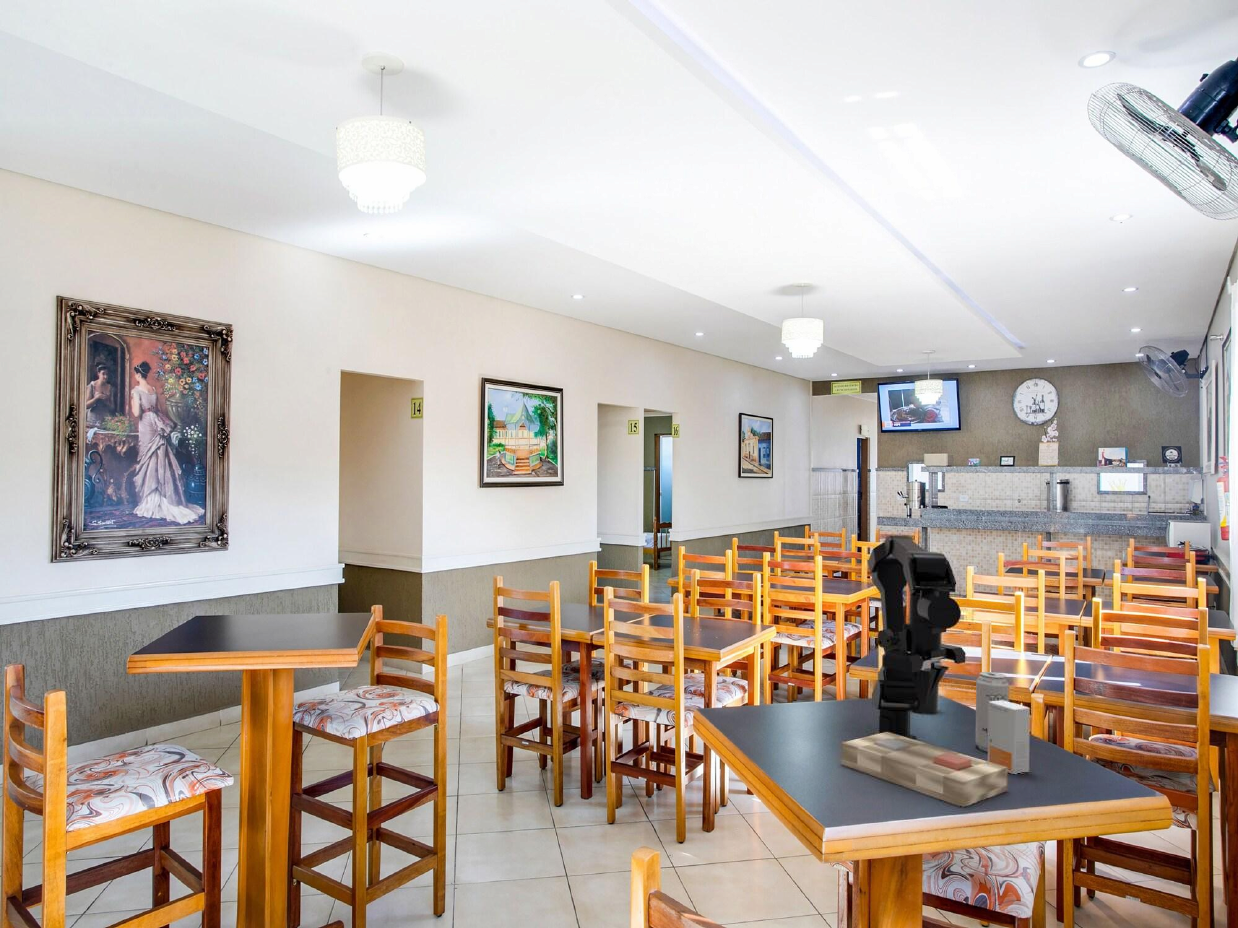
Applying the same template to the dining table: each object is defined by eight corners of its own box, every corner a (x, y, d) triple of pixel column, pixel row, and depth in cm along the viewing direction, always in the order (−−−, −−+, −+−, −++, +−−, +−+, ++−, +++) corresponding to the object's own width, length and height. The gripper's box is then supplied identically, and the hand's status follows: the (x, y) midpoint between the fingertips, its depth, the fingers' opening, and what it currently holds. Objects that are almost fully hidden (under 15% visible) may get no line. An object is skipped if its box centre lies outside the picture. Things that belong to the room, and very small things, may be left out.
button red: (947, 772, 140) (947, 752, 140) (971, 779, 136) (971, 759, 136) (933, 776, 137) (933, 756, 137) (957, 784, 133) (957, 763, 134)
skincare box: (986, 764, 150) (987, 701, 150) (1002, 762, 151) (1003, 699, 152) (1013, 775, 144) (1014, 709, 145) (1030, 772, 146) (1030, 707, 146)
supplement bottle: (910, 713, 186) (911, 661, 186) (905, 705, 192) (905, 656, 193) (941, 715, 184) (942, 663, 185) (934, 708, 191) (935, 658, 192)
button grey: (888, 756, 149) (889, 737, 149) (909, 763, 146) (909, 744, 146) (874, 760, 147) (874, 741, 147) (895, 767, 143) (895, 747, 143)
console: (886, 752, 155) (886, 731, 155) (1007, 790, 136) (1007, 767, 136) (841, 764, 147) (841, 742, 147) (962, 807, 127) (963, 782, 128)
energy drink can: (984, 753, 156) (985, 677, 157) (969, 744, 162) (971, 670, 163) (1014, 754, 156) (1015, 678, 157) (998, 745, 162) (999, 671, 163)
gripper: (915, 610, 160) (913, 688, 159) (858, 616, 148) (856, 700, 148) (967, 618, 151) (966, 700, 150) (911, 626, 139) (909, 714, 139)
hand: (923, 703), depth 147 cm, fingers closed
